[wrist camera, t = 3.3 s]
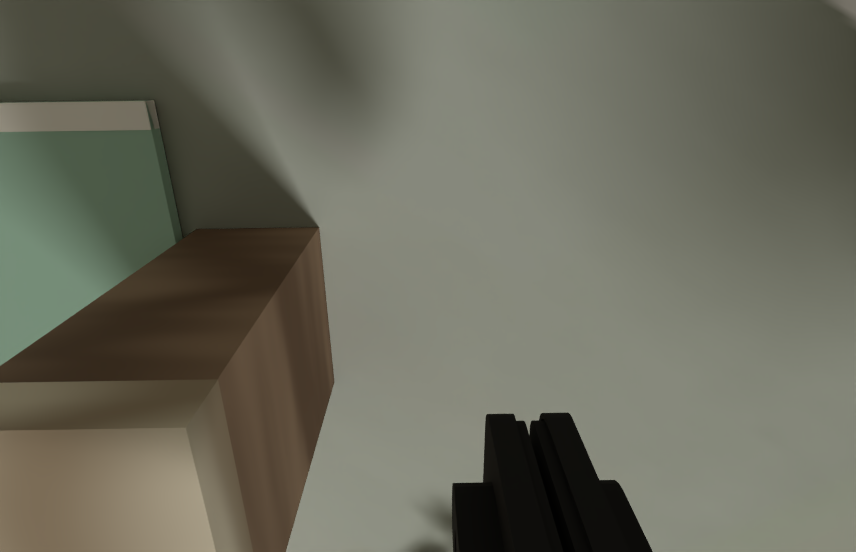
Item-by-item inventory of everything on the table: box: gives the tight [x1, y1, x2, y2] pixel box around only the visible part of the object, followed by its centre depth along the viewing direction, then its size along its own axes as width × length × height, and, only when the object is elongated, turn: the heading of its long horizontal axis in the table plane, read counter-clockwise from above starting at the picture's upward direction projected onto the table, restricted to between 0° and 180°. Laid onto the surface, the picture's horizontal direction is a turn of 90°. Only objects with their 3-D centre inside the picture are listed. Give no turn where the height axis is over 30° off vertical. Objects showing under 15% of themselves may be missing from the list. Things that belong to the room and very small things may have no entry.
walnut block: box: [0, 227, 334, 552], centre depth 13 cm, size 4×6×10 cm
